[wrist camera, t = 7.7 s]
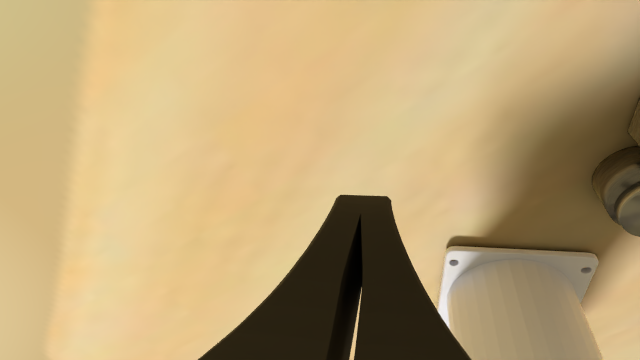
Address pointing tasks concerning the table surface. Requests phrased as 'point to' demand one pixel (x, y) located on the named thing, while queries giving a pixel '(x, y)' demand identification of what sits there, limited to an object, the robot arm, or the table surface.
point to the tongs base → (616, 177)
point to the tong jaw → (630, 190)
